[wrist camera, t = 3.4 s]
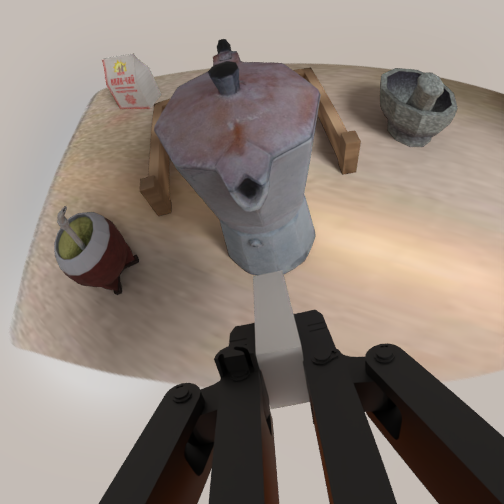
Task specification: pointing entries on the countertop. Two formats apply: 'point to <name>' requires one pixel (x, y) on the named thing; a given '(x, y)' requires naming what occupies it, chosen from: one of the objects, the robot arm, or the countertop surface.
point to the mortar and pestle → (415, 105)
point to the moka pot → (248, 155)
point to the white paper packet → (130, 82)
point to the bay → (340, 139)
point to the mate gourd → (92, 250)
